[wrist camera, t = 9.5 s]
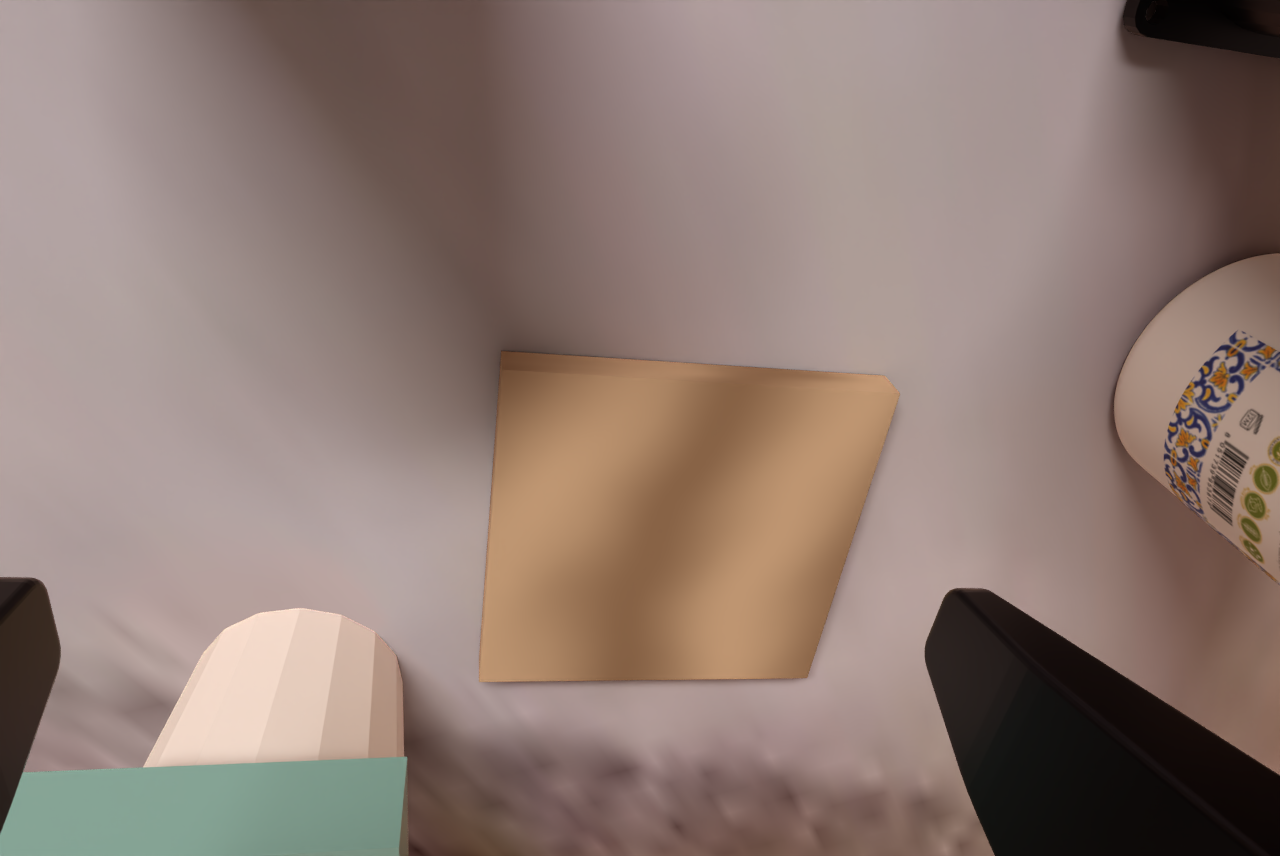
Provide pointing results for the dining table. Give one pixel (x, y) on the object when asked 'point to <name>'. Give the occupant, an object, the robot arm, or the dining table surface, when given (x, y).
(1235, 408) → the bath foam
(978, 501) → the dining table surface
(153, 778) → the lid
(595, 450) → the mat
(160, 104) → the dining table surface
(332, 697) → the cream round container
